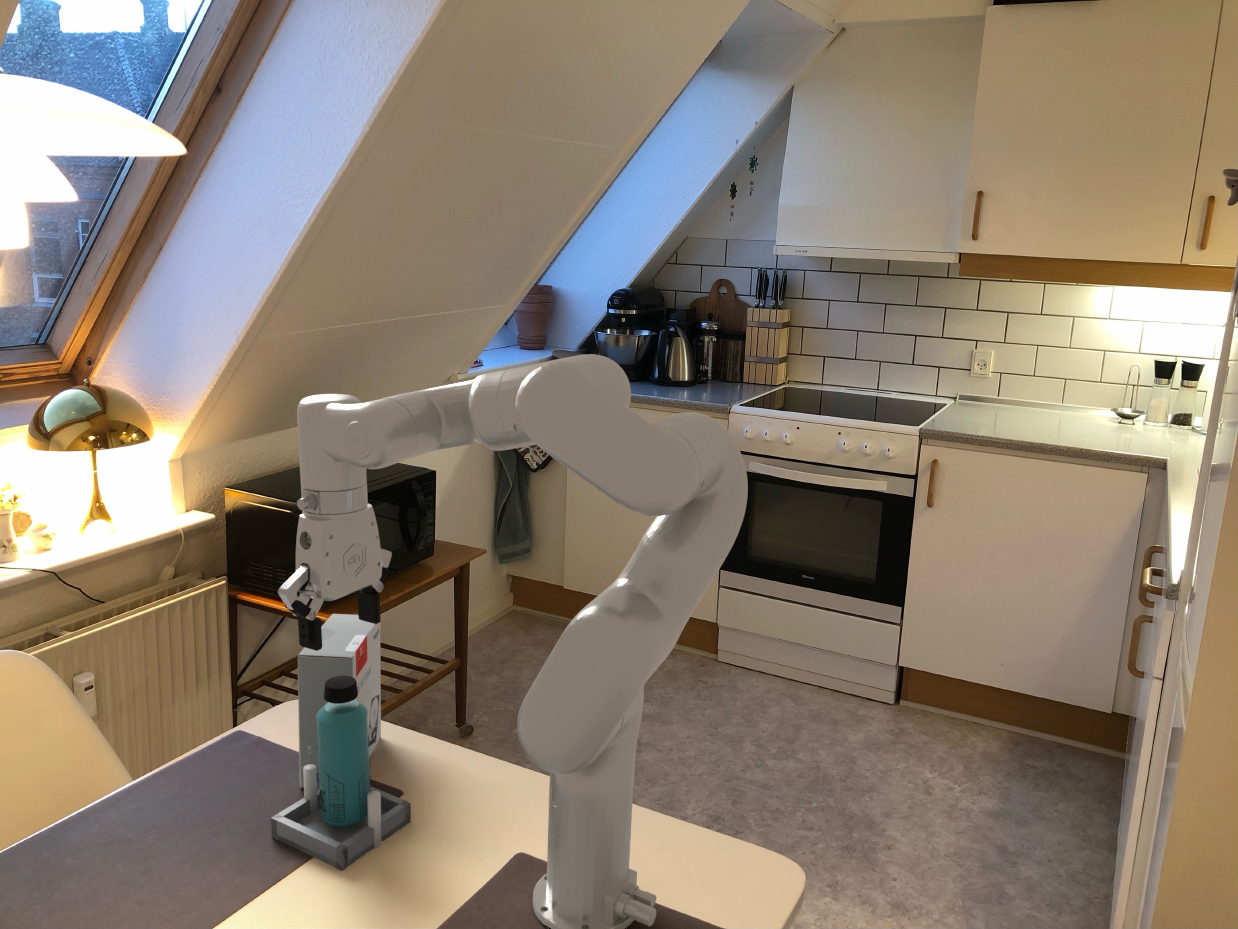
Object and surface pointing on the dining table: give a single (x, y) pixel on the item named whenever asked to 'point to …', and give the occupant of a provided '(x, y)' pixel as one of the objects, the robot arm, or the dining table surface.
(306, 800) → the tray
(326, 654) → the hard drive box
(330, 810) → the beverage bottle
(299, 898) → the dining table surface
